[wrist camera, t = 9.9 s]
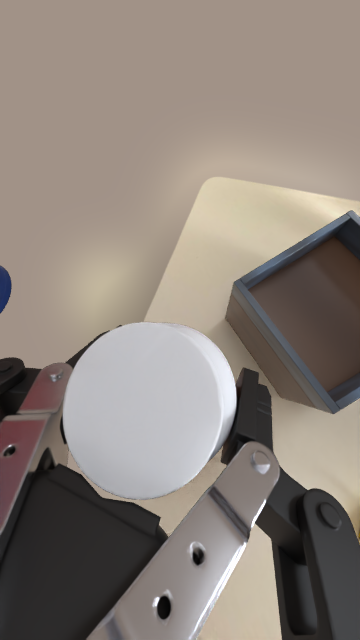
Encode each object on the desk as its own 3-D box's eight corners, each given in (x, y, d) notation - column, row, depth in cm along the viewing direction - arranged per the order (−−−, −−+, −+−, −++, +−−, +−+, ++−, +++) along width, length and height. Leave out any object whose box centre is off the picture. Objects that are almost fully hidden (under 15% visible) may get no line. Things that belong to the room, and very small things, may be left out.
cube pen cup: (280, 397, 25) (333, 414, 14) (224, 317, 29) (233, 282, 18) (364, 345, 26) (479, 323, 15) (298, 272, 29) (351, 209, 18)
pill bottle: (239, 373, 16) (299, 368, 5) (197, 446, 15) (171, 612, 5) (172, 331, 18) (119, 265, 7) (130, 396, 17) (-5, 432, 6)
